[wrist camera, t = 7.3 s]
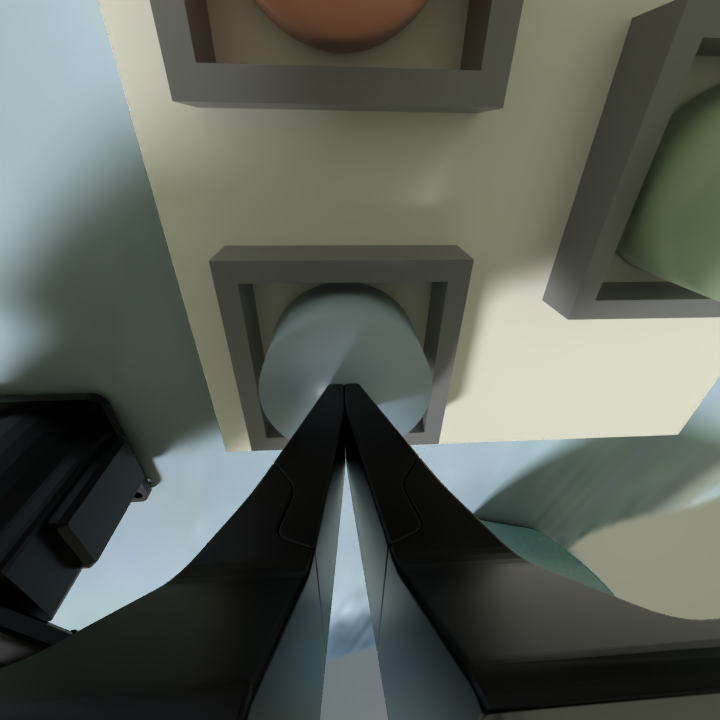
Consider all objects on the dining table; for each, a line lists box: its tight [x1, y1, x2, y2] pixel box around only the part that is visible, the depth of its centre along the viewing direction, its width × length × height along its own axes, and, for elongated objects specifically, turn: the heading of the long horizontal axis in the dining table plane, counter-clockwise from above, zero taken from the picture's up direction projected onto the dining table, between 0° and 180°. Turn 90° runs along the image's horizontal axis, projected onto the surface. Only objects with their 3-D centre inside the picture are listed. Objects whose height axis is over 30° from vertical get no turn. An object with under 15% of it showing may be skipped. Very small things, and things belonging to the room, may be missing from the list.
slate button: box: [259, 283, 432, 455], centre depth 11 cm, size 5×5×2 cm
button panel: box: [98, 0, 720, 452], centre depth 9 cm, size 20×20×3 cm
